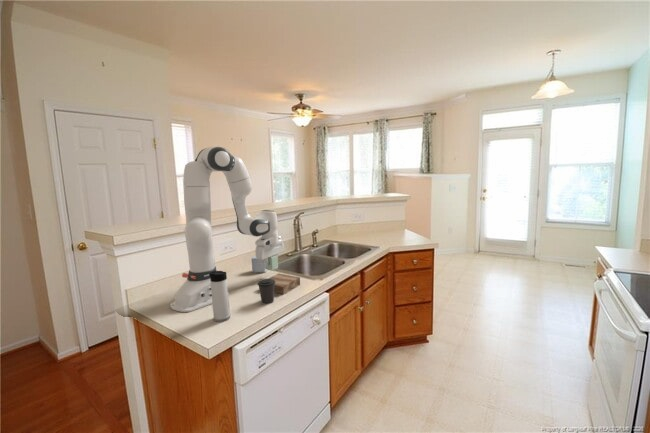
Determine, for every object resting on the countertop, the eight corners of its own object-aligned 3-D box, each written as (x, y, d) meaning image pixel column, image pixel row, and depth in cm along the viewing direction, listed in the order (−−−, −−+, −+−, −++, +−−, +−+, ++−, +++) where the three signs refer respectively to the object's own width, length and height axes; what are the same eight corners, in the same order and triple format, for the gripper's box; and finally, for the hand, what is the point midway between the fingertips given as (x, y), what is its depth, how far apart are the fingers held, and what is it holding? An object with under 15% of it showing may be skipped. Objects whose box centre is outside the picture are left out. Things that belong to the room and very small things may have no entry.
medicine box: (267, 270, 180) (266, 256, 178) (265, 272, 175) (264, 258, 174) (254, 270, 180) (253, 256, 179) (252, 272, 176) (251, 258, 175)
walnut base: (283, 294, 143) (283, 286, 142) (261, 289, 150) (260, 282, 149) (300, 284, 155) (299, 277, 154) (278, 280, 162) (278, 273, 161)
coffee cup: (268, 306, 131) (266, 284, 129) (254, 302, 135) (253, 281, 133) (280, 299, 137) (279, 278, 136) (267, 296, 142) (265, 276, 140)
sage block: (272, 270, 162) (271, 257, 161) (265, 269, 165) (264, 256, 164) (278, 267, 167) (277, 255, 165) (271, 266, 169) (270, 254, 168)
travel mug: (210, 320, 120) (205, 272, 117) (223, 313, 126) (219, 267, 123) (219, 324, 117) (215, 275, 114) (233, 317, 122) (229, 270, 119)
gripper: (277, 235, 174) (278, 258, 176) (252, 242, 156) (254, 268, 158) (286, 236, 170) (287, 259, 173) (262, 243, 153) (263, 269, 155)
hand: (271, 263), depth 165 cm, fingers closed on sage block, 5 cm apart
